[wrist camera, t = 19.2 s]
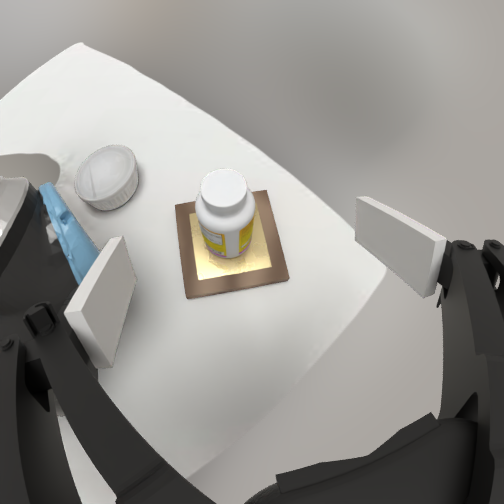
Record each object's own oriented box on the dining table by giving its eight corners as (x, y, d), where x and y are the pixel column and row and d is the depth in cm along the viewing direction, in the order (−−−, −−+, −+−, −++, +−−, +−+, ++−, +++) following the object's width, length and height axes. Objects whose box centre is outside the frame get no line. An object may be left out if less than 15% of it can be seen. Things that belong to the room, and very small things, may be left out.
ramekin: (76, 199, 42) (62, 184, 37) (114, 154, 45) (105, 136, 40) (114, 228, 40) (101, 212, 35) (156, 176, 44) (148, 157, 39)
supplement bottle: (247, 212, 40) (251, 156, 28) (255, 255, 38) (264, 210, 26) (201, 219, 39) (188, 165, 27) (206, 263, 37) (193, 221, 25)
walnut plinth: (187, 299, 37) (186, 297, 36) (176, 209, 41) (174, 204, 40) (287, 280, 39) (289, 278, 37) (265, 194, 43) (266, 189, 42)
